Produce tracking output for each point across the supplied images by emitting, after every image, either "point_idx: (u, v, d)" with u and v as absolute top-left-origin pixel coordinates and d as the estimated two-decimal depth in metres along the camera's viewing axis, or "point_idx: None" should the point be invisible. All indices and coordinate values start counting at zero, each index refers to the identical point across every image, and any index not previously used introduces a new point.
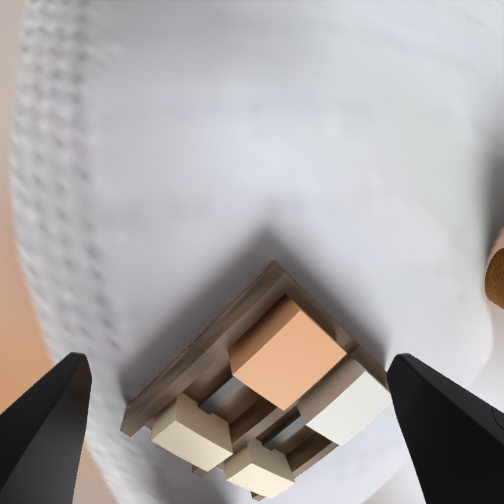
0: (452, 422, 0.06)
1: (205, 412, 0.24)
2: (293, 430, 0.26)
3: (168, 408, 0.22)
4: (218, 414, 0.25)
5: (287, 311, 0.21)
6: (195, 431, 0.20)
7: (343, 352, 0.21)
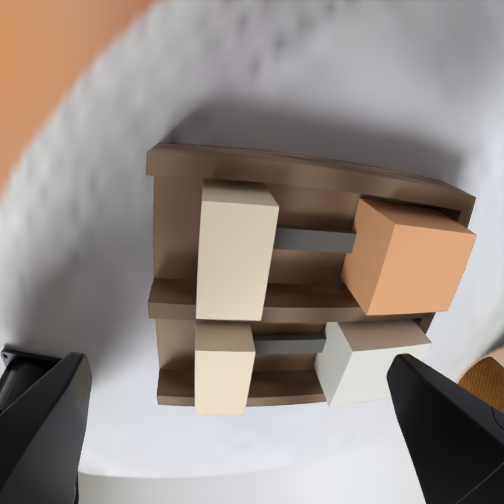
0: (452, 422, 0.06)
1: None
2: (289, 349, 0.21)
3: (248, 189, 0.15)
4: None
5: (456, 225, 0.16)
6: (271, 248, 0.14)
7: (448, 307, 0.17)
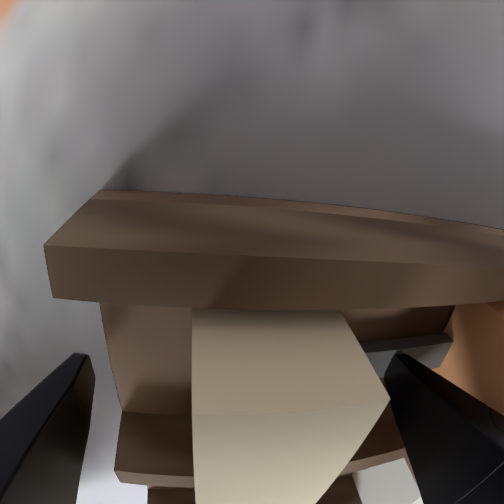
0: (449, 423, 0.06)
1: None
2: None
3: (300, 318, 0.06)
4: None
5: None
6: (349, 450, 0.05)
7: None
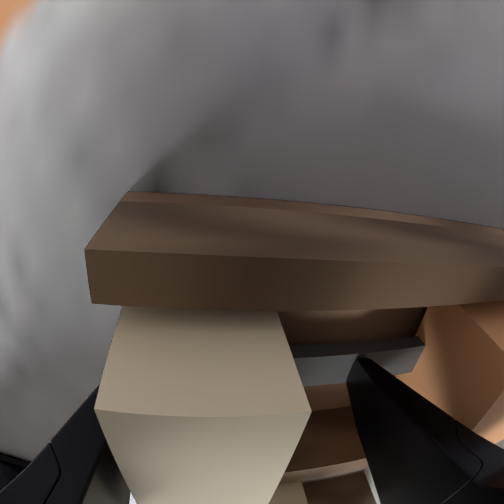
0: (408, 436, 0.06)
1: None
2: None
3: (229, 318, 0.06)
4: (305, 386, 0.10)
5: None
6: (284, 460, 0.05)
7: None
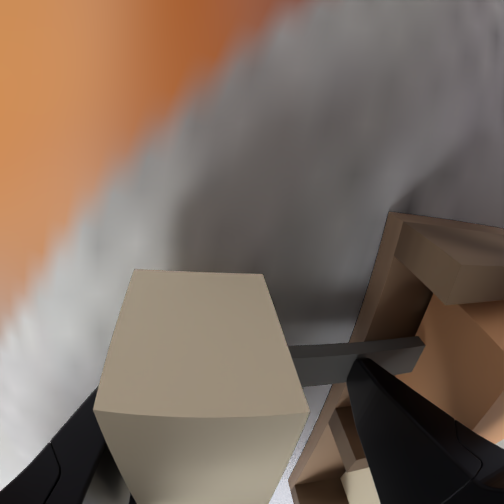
0: (408, 436, 0.06)
1: None
2: None
3: (229, 319, 0.06)
4: None
5: None
6: (284, 461, 0.05)
7: None
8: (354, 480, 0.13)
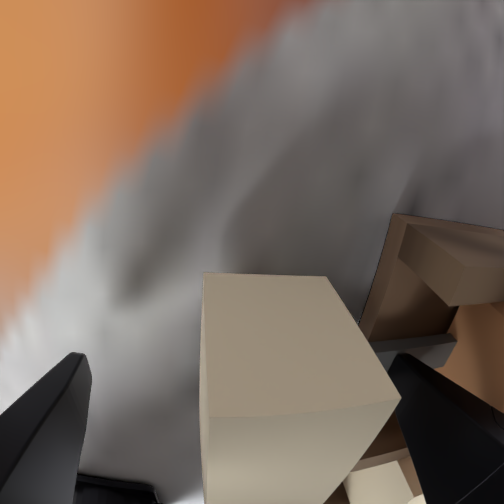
0: (452, 422, 0.06)
1: None
2: None
3: (310, 319, 0.06)
4: None
5: None
6: (359, 449, 0.05)
7: None
8: (355, 480, 0.13)
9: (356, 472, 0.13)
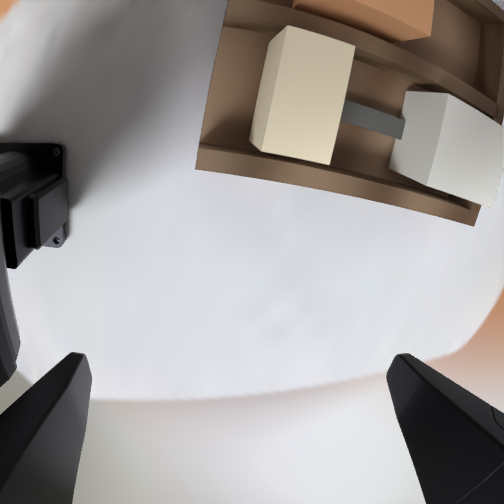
0: (452, 422, 0.06)
1: None
2: (367, 122, 0.16)
3: None
4: None
5: None
6: None
7: (429, 30, 0.11)
8: (257, 113, 0.15)
9: (257, 105, 0.15)
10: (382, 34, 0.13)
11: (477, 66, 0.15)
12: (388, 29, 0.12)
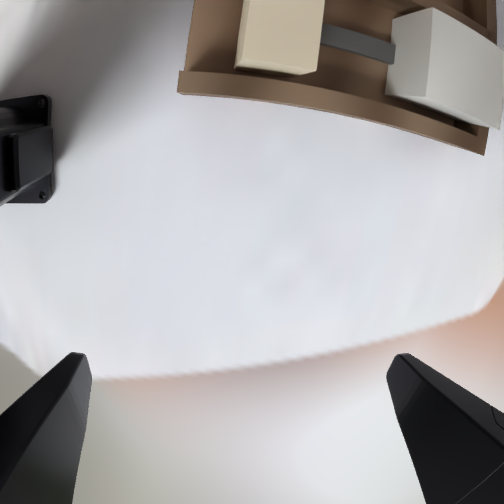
0: (452, 422, 0.06)
1: None
2: (356, 45, 0.14)
3: None
4: None
5: None
6: None
7: None
8: (239, 39, 0.13)
9: (239, 33, 0.13)
10: None
11: (463, 0, 0.13)
12: None
